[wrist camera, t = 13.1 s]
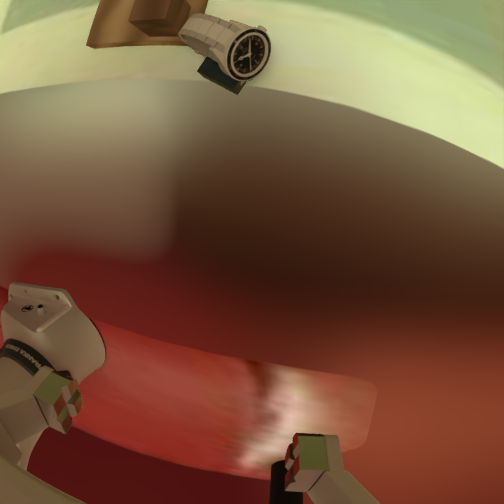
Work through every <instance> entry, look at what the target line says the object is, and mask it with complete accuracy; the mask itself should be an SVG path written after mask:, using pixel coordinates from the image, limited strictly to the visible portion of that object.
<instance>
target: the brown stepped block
mask: <svg viewBox="0 0 504 504" xmlns="http://www.w3.org/2000/svg"><path fill="white" fill-rule="evenodd" d="M190 9H191V7H190V5H189V4H188V2H187V1H186V0H135V1H134V4H133V7H132V10H131V13H130V16H129V19H128V22H130V23H131V24H133V25H134V26H135V27H137V28H138V29H140V30H141V31H142V32H144V33H145V34H146V35H148V36H149V37H179V36H178V33H179V31H180V30H181V29H182V27H183V26H184V25H185V23H186V22H187V19H188V16H189V12H190Z"/></svg>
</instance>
